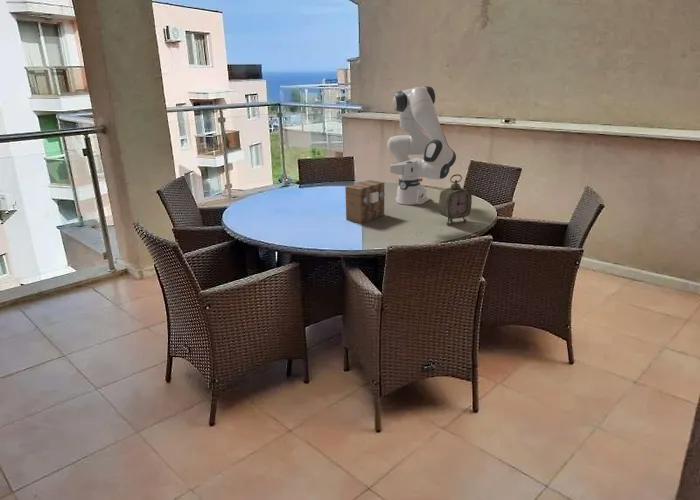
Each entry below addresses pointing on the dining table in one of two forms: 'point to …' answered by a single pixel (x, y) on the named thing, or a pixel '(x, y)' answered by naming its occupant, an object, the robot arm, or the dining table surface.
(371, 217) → the wooden block with knobs
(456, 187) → the tabletop clock
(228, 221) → the dining table surface
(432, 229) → the dining table surface
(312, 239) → the dining table surface
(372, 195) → the cream button
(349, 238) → the dining table surface
